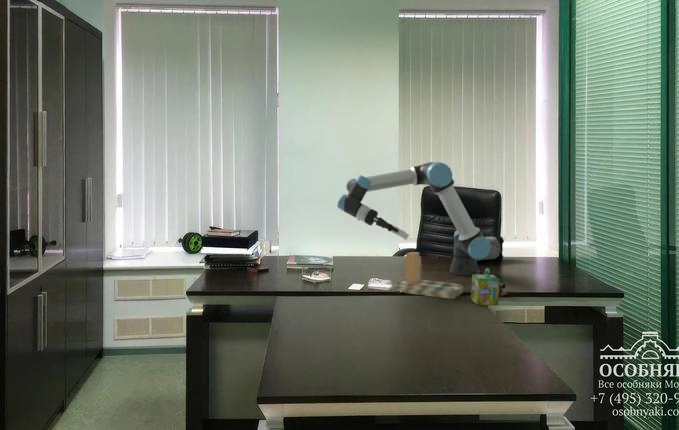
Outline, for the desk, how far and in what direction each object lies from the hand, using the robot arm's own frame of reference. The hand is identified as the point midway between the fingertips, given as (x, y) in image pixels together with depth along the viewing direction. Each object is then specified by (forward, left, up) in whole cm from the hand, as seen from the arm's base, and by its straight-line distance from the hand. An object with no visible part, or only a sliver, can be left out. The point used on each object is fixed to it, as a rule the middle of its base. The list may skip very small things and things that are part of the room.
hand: (406, 236), depth 274 cm
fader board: (-6, +13, -24) cm, 28 cm away
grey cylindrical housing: (-67, -53, -25) cm, 89 cm away
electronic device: (-33, +25, -25) cm, 48 cm away
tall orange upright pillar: (0, +8, -21) cm, 22 cm away
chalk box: (-21, +37, -25) cm, 49 cm away
